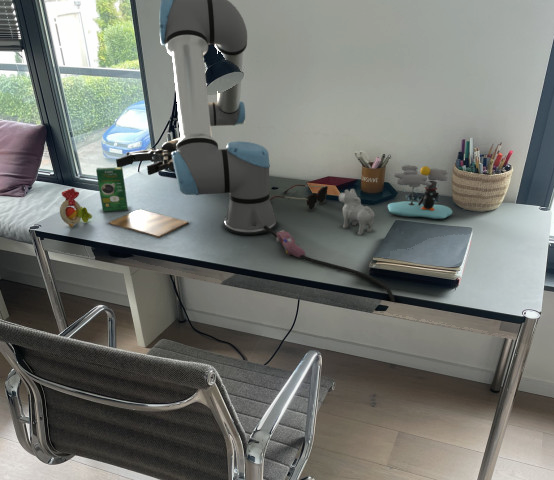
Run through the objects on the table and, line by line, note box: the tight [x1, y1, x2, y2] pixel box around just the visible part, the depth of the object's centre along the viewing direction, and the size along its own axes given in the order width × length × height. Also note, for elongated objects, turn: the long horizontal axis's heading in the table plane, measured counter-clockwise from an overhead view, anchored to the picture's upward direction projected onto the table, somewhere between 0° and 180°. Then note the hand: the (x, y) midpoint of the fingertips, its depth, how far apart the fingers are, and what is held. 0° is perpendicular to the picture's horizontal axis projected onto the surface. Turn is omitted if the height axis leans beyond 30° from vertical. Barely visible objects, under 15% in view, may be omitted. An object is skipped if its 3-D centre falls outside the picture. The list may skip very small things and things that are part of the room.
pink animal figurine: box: [275, 229, 306, 259], centre depth 151 cm, size 10×5×7 cm, turn 17°
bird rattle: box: [59, 187, 93, 228], centre depth 167 cm, size 6×11×9 cm
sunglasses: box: [270, 184, 329, 211], centre depth 184 cm, size 14×16×5 cm
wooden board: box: [109, 208, 189, 238], centre depth 170 cm, size 20×13×1 cm, turn 57°
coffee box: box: [95, 166, 129, 212], centre depth 176 cm, size 8×3×13 cm, turn 101°
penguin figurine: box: [387, 164, 453, 220], centre depth 171 cm, size 20×11×15 cm, turn 72°
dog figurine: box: [338, 188, 375, 236], centre depth 164 cm, size 5×13×11 cm, turn 38°
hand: (132, 167), depth 180 cm, fingers open, 13 cm apart
